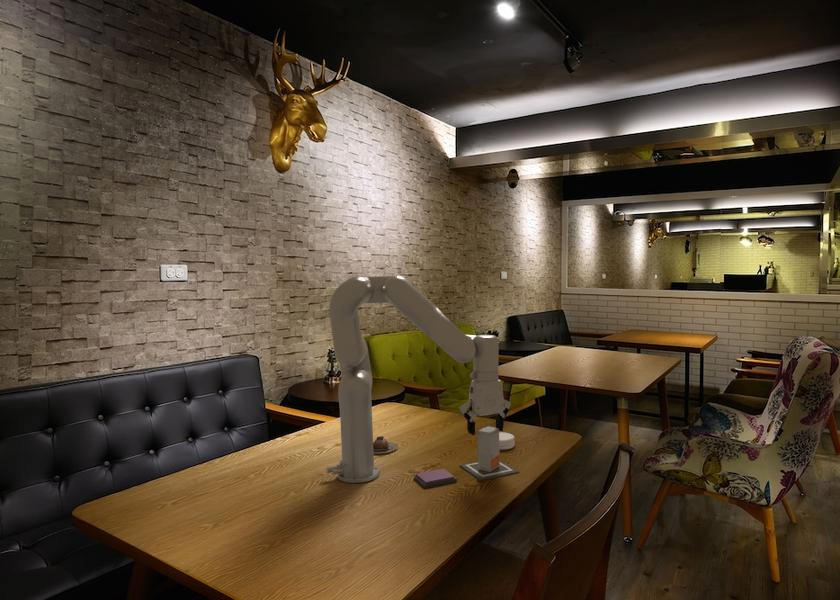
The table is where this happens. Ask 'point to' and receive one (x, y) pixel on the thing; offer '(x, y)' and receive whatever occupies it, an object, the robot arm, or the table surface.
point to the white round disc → (506, 441)
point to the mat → (485, 475)
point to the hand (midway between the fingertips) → (485, 431)
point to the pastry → (383, 445)
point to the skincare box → (488, 449)
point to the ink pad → (434, 478)
